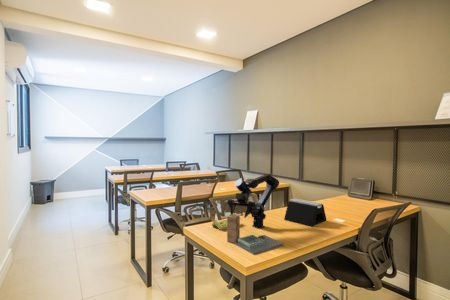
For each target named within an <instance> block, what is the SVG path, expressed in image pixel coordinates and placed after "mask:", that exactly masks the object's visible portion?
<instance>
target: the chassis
mask: <svg viewBox="0 0 450 300" xmlns="http://www.w3.org/2000/svg"><path fill="white" fill-rule="evenodd" d="M235 245H236V246H238V247H239V248H241V249H243V250H244V251H247V252H249V253H250V254H252V255H256V254H260V253H263V252H267V251H270V250H272V249H276V248H280V247H283V246H284V242H281V241H280V240H277V239H274V238H272V237H270V236H268V235H266V234H263V235H259V236H256V235H254V234H250V235H246V236H242V237H240V238H238V242H236V243H235Z"/></svg>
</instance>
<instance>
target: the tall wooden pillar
mask: <svg viewBox="0 0 450 300" xmlns="http://www.w3.org/2000/svg"><path fill="white" fill-rule="evenodd" d="M226 219H227V229H226V233H227V234H226V239H227V240H226V241H227V243H232V244H236V242H238V238H241V237H240V236H241V235H240V233H241V232H240V231H241V230H240V223H241V222H240V221H241V216H240V214H237V215H234V213H233V214H231V213H230V214H229V215H227V218H226Z"/></svg>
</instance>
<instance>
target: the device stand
mask: <svg viewBox="0 0 450 300" xmlns="http://www.w3.org/2000/svg"><path fill="white" fill-rule="evenodd" d="M325 211H326V210H325V206H324V204H322V202H317V201H311V200H306V199H301V198H292V199H291V198H290V200H289V201H288V202H287V206H286V210H285V214H284V215H285V216H284V221H287V222H290V223H295V224H299V225H303V226H306V227H311V228H313V227H315V226H318V225H320V224H322V223H324V222H326V221H327V216H326V215H327V214H326V212H325Z"/></svg>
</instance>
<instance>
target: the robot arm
mask: <svg viewBox="0 0 450 300" xmlns="http://www.w3.org/2000/svg"><path fill="white" fill-rule="evenodd" d="M262 183H265V184H266V188H265V190H264V191H263V193H262V195H261V196H260V198H259V200H258V202H257V203H256V202H254V201H249V200H250V199H249V198H250V195H251V194H253V191H252V190H253V189H256V188H257V187H258V186H259V185H260V184H262ZM234 186H235V187H236V189H237V191H239V192H240V193H239V192H238V193H237V192H235V199H236V201H235V200H234V199H229V198H228V199H227V201H226V204H227V205H228V207H229V208H230V215H231V214H234V213H235V210H236V207H245V208H246V209H245V210H246V211H245V214H244V219H246V218H247V216H249V215H250V216H251V217H252V218H253V224H252V225H251V226H252V227H254V228H256V229H262V228H265V226H266V225H264V220H265V219H266V217H267V215H266V214H265V206H266V204H267V202H268V200H269V199H270V197H271V195H272V193H273V191H275V190H276V189H277V188H278V187H279V186H280V180H279V179H278V178H275V177H274V176H273V175H271V174H269V173H265V174H263V175H260V176H258V177H256V178H247V179H246V180H244V178H242V177H241V178H240V177H239V179H237V180H236V181H234Z"/></svg>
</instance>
